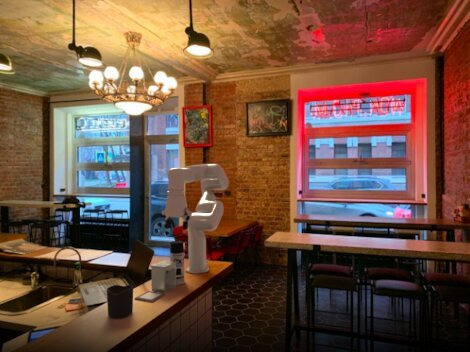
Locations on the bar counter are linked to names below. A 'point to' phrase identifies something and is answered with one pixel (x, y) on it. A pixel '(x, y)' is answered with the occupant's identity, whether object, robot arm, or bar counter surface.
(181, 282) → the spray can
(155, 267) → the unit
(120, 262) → the bar counter surface
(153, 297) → the pad
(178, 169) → the robot arm
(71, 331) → the bar counter surface
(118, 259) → the bar counter surface
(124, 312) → the pen holder
